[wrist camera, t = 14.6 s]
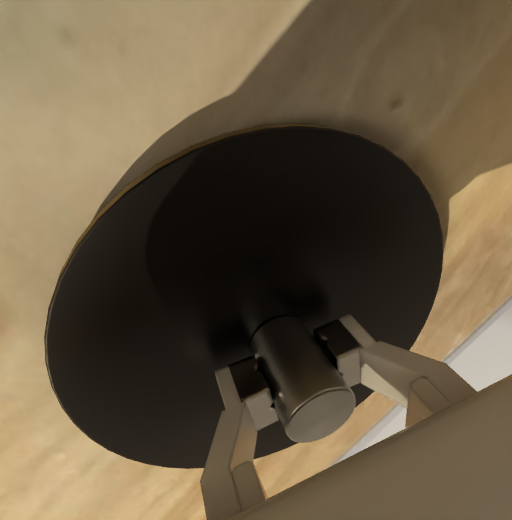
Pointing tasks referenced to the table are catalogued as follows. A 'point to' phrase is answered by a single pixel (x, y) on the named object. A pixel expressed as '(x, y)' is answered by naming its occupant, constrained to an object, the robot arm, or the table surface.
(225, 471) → the robot arm
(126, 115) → the table surface
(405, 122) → the table surface
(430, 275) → the tin lid
